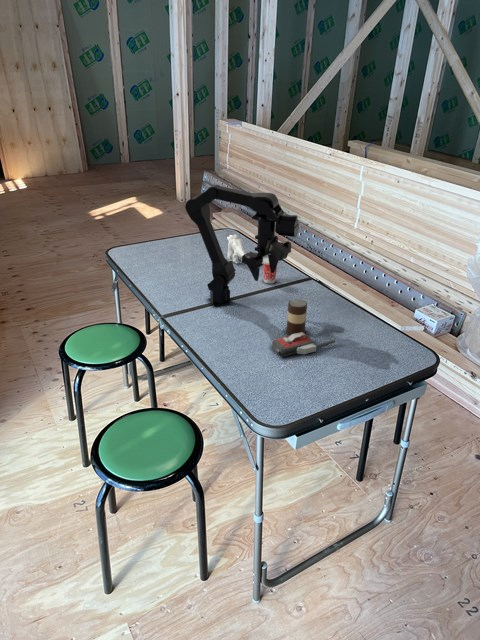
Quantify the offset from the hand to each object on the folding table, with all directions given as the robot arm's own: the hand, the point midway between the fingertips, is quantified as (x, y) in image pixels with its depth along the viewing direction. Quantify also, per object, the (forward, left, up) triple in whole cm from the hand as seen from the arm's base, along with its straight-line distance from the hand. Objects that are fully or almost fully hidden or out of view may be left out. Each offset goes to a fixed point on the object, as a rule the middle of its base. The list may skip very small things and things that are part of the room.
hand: (264, 276), depth 168 cm
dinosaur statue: (+10, +45, -13) cm, 48 cm away
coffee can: (+3, -18, -13) cm, 22 cm away
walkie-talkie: (0, -27, -13) cm, 31 cm away
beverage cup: (+13, +22, -13) cm, 29 cm away
